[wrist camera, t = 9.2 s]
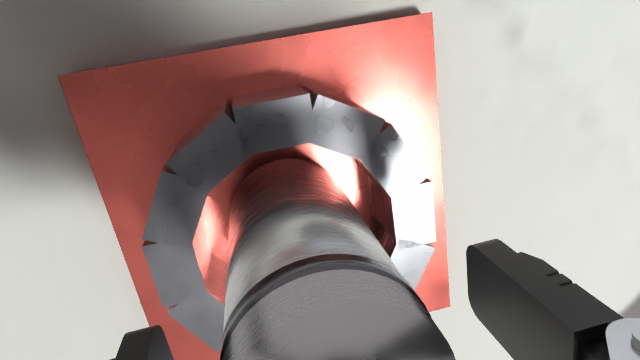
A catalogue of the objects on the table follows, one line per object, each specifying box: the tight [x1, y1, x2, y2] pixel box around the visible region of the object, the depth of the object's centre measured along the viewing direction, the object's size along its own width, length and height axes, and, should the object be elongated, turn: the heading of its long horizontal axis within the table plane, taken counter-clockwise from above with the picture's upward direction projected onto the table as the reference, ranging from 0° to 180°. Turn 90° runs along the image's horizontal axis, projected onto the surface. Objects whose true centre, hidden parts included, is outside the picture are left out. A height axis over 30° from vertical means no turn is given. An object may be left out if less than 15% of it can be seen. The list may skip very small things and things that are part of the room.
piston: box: [220, 159, 455, 360], centre depth 13 cm, size 5×5×10 cm
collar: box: [58, 12, 450, 360], centre depth 17 cm, size 14×14×4 cm
